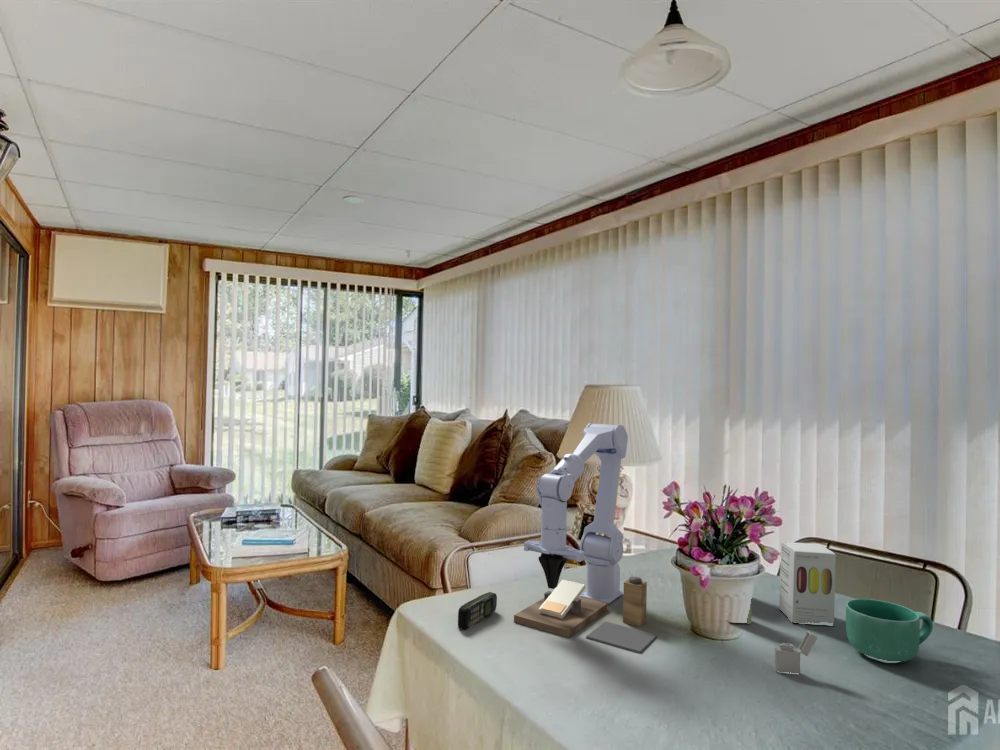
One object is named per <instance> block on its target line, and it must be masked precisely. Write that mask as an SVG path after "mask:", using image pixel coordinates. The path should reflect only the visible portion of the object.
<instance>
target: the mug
mask: <svg viewBox="0 0 1000 750" xmlns="http://www.w3.org/2000/svg"><path fill="white" fill-rule="evenodd" d="M920 620H921V621H922V623H921V625H920ZM920 626H921V627H920ZM933 628H934V623H933V621H932V619H931V617H930V616H929V615H927V614H926V613H924V612H921V611H914V610H913V609H911V608H909V607H906V606H904V605H900V604H897V603H894V602H890V601H885V600H879V599H872V598H871V599H869V598H854V599H850V600H848V601H847V602H846V603H845V629H846V630H845V631H846V636H847V640H848V641H849V644H850V645H851V646H852V647H853V648H854V649H855V650H856V651H858V652H859V653H861V654H862V653H863V654H866V655H868V656H871V657H874V658H877V659H882V660H887V661H904V662H907V660H908V661H910V660H912V659H913V658H915V657H916V655H917V654H918V652H919V648H920V645H921V644H922V643H924V642H925V641H927V639H928V638H929V637H930V635H931V634H932V632H933ZM863 654H862V655H863Z"/></svg>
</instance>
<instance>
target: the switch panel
mask: <svg viewBox="0 0 1000 750" xmlns="http://www.w3.org/2000/svg"><path fill="white" fill-rule="evenodd" d="M552 592H553V591H550V590H548V591H546V592H544V593H543V595H544V596H543V598H541V599H540V600H537V601H536V602H535V603H532V604H531V605H529V606H527V607H525V608H524V609H522V610H521V611H518V612H517V613H515V614H514V615H513V622H514V623H517V624H521V625H524V626H527V627H531V628H534V629H538V630H541V631H545V632H548V633H552V634H555V635H557V636H558V635H559V636H562V637H566V638H571V637H573V635H575V634H576V633H578V632H579V631H580V630H582V629H583V628H585V627H586V626H587V625H589V624H590V623H591V622H592V621H594V620H595V619H597V618H598V617H600V616H601V615H602V614H604V613H605V612H606V611H608V605H609V604H608V603H605V602H601V601H596V600H592V599H588V598H584V597H580V596H579V597H578V598H576V599H575V600H573V605H572V607H571V608H570V609H569V611H568V612H567V613H566V615H565V616H564V617H563V619H562V618H558V617H554V616H550V615H547V614H543V613H539V608H540V606H541V605H542V604H543V603H544V602H545V600H546V599H547V598H548V597H549V595H550V594H551V593H552Z"/></svg>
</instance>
